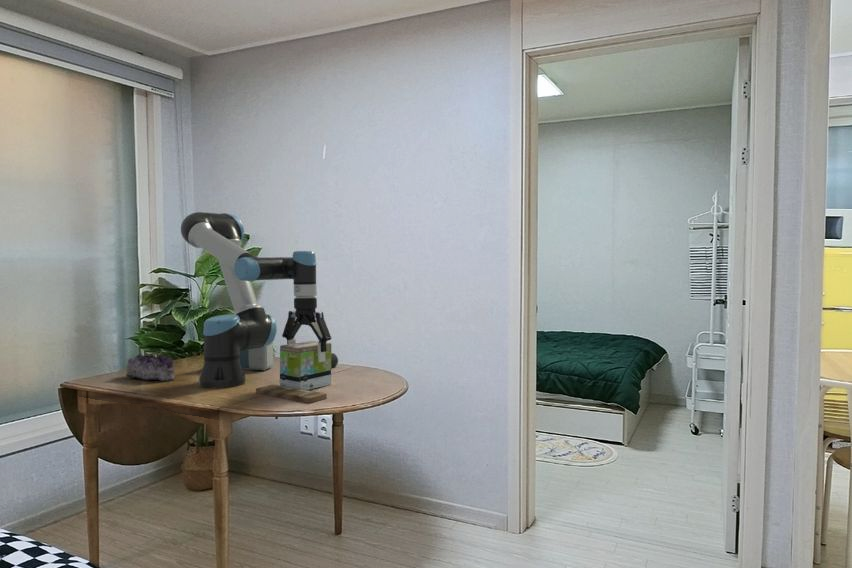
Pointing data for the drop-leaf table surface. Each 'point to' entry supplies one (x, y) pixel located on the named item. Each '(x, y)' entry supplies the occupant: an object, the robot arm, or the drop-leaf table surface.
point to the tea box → (304, 366)
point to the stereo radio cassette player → (257, 358)
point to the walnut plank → (291, 393)
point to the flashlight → (334, 359)
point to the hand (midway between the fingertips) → (306, 360)
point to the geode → (151, 368)
